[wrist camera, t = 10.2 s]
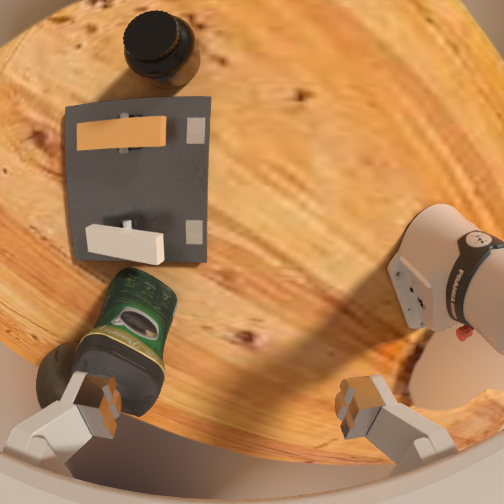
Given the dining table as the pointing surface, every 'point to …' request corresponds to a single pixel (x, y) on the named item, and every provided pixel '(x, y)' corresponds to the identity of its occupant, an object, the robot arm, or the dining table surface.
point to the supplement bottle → (161, 49)
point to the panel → (143, 177)
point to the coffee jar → (130, 339)
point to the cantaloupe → (55, 375)
